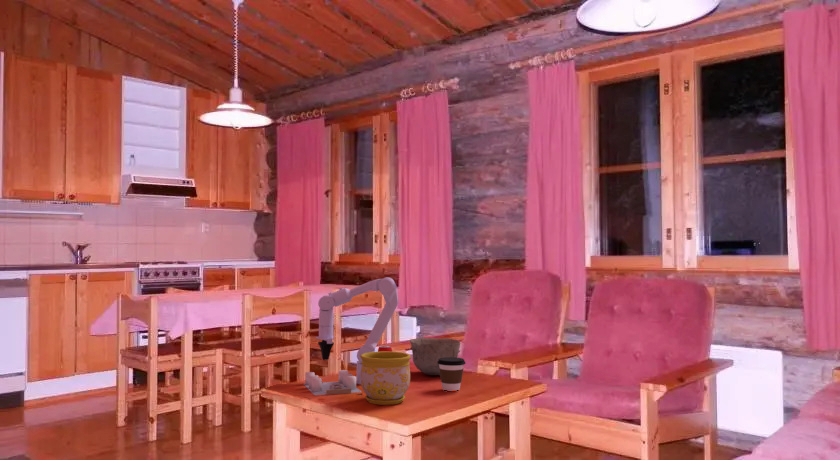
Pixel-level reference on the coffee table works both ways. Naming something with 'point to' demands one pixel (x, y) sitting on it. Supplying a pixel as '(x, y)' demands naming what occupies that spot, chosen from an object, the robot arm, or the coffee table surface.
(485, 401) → the coffee table surface
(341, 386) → the hexagonal block with ball
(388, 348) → the beverage can
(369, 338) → the robot arm
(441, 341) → the bowl
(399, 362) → the flowerpot
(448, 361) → the coffee cup
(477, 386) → the coffee table surface
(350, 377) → the spacer board
